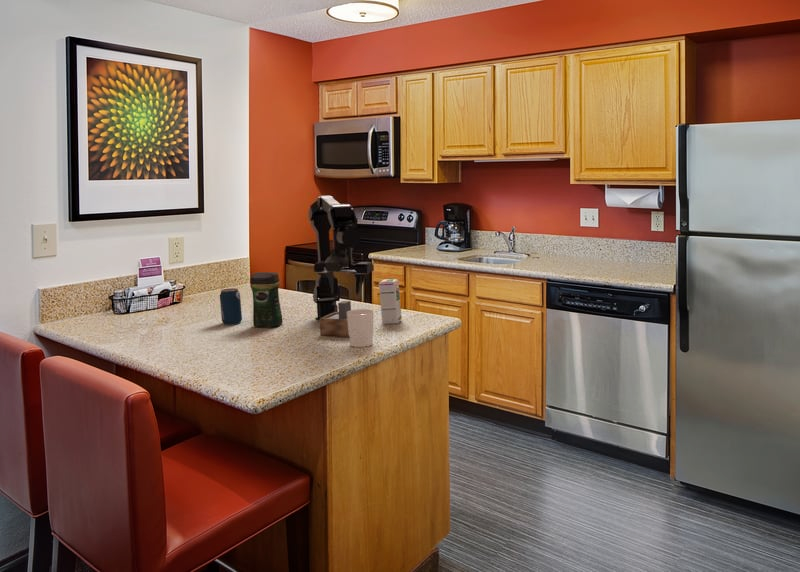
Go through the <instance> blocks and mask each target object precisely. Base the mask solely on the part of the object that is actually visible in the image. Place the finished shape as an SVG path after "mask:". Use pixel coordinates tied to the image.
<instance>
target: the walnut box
mask: <svg viewBox="0 0 800 572" xmlns="http://www.w3.org/2000/svg"><path fill="white" fill-rule="evenodd" d="M336 314H339V311H338V312H333V313H331V314H328V315H326V316H324V317H322V318H320V320H319V331H320V336H321V337H333V336H335V338H347V337H349V331H348V322H347V319H337V318H329V317H331V316H334V315H336Z"/></svg>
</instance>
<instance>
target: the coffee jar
mask: <svg viewBox="0 0 800 572" xmlns="http://www.w3.org/2000/svg"><path fill="white" fill-rule="evenodd" d="M280 283H281V282H280V278H279V274H278V272H271V271H264V272H263V271H262V272H261V271H260V272H255V273H252V274H251V275H250V279H249V287H250V289H251V291H252V303H253V304H252V309H253V310H252V311H253V312H252V323H253V324H252V325H253V326H254V327H256V328H274V327H279V326H281V325H282V324H283V315H282V309H281V302H280V295H279V287H280Z"/></svg>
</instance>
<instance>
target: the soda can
mask: <svg viewBox="0 0 800 572" xmlns="http://www.w3.org/2000/svg"><path fill="white" fill-rule="evenodd" d="M220 291H221V292H220V294H219V301H220V302H219V305H220V316H221V322H222V323H223V324H224V325H225V326H234V325H238V324H240V323H241V322H242V321H243V316H242V315H243V314H242V303H241V302H242V301H241V300H242V299H241V293H240V291H239V288H234V287H233V288H231V287H230V288H223V289H221V290H220Z"/></svg>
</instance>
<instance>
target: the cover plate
mask: <svg viewBox="0 0 800 572" xmlns="http://www.w3.org/2000/svg"><path fill="white" fill-rule="evenodd" d="M351 302H352V301H351V300H341V301H338V303H337V306H338V312H339V314H336V315H334V316H331V317H329V318H337V319H347V312H348V311H350V310H352V305H351V304H352V303H351Z"/></svg>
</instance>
